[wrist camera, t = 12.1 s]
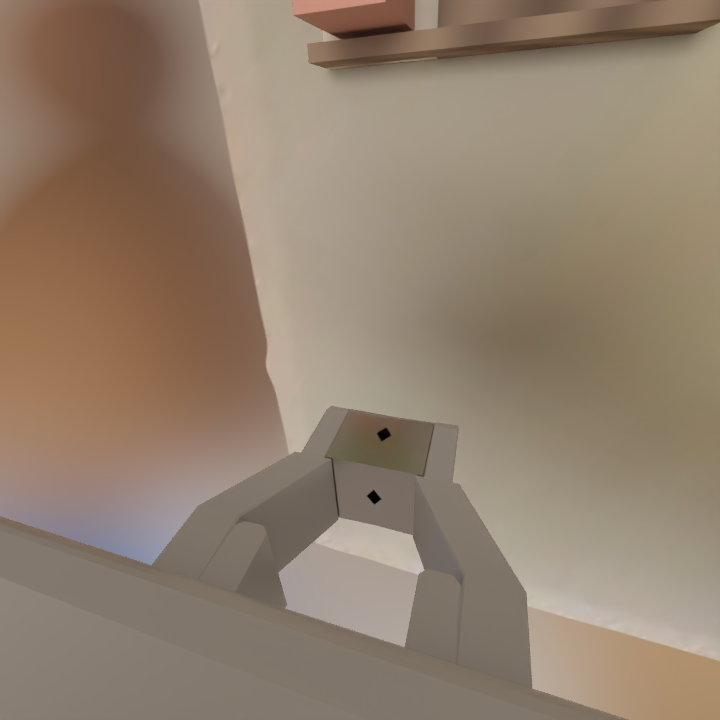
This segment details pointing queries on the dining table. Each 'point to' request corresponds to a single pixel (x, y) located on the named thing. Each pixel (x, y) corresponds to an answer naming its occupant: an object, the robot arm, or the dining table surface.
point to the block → (357, 16)
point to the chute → (515, 28)
